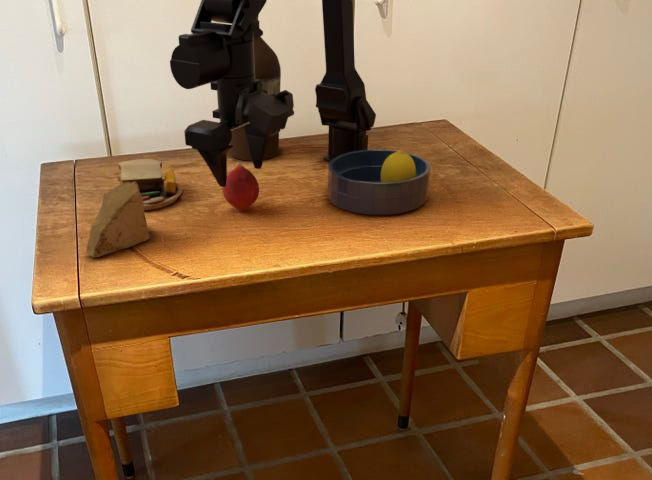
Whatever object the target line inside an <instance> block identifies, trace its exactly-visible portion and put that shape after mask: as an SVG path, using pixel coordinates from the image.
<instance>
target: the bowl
mask: <svg viewBox="0 0 652 480" xmlns="http://www.w3.org/2000/svg"><path fill="white" fill-rule="evenodd" d="M397 151H398V150H395V149H385V148H379V149H378V148H377V149H373V148H371V149H368V150H359V151H354V152H349V153H345V154H342V155H339V156H337V157H336V158H334V159H332V160H331V161H330V162H328V169H327V170H328V171H327V173H328V175H327V198H328V200H329V201H330V203H332V204H333V205H334V206H336V207H338V208H340V209H342V210H344V211H348V212H351V213H354V214H358V215H359V214H360V215H365V216H392V215H399V214H405V213H408V212H410V211H414V210H415V209H418V208H420V207H421V206H422V205H423V204H425V203H426V202H427V199H428V197H429V187H430V178H431V177H430V176H431V165H430V164H431V163H430V162H429V161H428V160H426V159H425V158H424V157H422V156H421V155H417V154H414V153H411V152H408V151H403V152H404V153H406V154H408V155H409V156H410V157H411V158H412V159H413V161H414V163H415V167H416V177H415V178H412V179H408V180H404V181H398V182H387V183H381V170H382V166H383V163H384V161H385V160H386V158H387V157H388V156H390V155H391V154H393V153H395V152H397Z"/></svg>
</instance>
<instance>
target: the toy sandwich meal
mask: <svg viewBox="0 0 652 480" xmlns="http://www.w3.org/2000/svg"><path fill="white" fill-rule="evenodd" d="M162 167H163V162H162V161H161V160H159V159H153V158H140V159H139V158H138V159H130V160H125V161H121V162H119V163H118V169H119V171H120V173H117V177H116V179H117V181H118V182H119V185H120V184H122V183H126V182H130V183H132V182H134V181H136V182H137V184H138V187H139V191H140V194H141V196H142V199H143V203H144V211H152V210H158V209H162V208H164V207H167V206H169V205H171V204H173V203H175V202H176V201H177V200H178V198H179V197H181V195H182V193H183V187H182V185H181V184H180V183H178V182H177V181H176V174H175V171H174V168H173V167H168V168H167V170H166V172H165V175H164V178H163V174H162ZM117 186H118V185H116V186H114V187H112V189H114V188H115V187H117Z"/></svg>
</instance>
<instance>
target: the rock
mask: <svg viewBox="0 0 652 480" xmlns="http://www.w3.org/2000/svg"><path fill="white" fill-rule="evenodd" d="M116 186H117V187H116ZM116 186H114V187H115V188H114V187H113V188H114V189H113V188H111V190H109V191H108V192H107V193H105V194H103V196H102V202H101V206H100V208H99V209H98V213H97V215H96V220H95V221H94V222H93V224H92V225H91V227H90V230H89V237H88V241H87V244H86V253H87V254H88V255H89V257H91V258H93V259H95V258H100V257H103V256H104V255H108V254H112V253H115V252H117V251H120V250H123V249H124V250H125V249H128V248H131V247H133V246H135V245H138V244H140V243H143V242H146V241H149V240H150V232H149V228H148V222H147V219H146V214H145V210H144V203H143V199H142V196H141V194H140V191H139V187H138V184H137V182H136V181H134V182H132V183H130V182H126V183H122V184H120V183H119V184H118V185H116Z"/></svg>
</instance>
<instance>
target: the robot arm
mask: <svg viewBox="0 0 652 480" xmlns="http://www.w3.org/2000/svg"><path fill="white" fill-rule="evenodd" d="M267 2H268V0H201V1H200V4H199V7H198V9H197V12H196V14H195V17H194V20H193V22H192V25H191V27H190V28H191V29H190V33H183V34H179V35H178V37H177V38H178V45H177V46H175V47H174V49H173V51H172V53H171V56H170V60H169V67H170V72H171V75H172V77H173V78H174V81H175V82H176V83H177V84H178V85H179V86H180V88H183V89H185V90H193V89H195V88H199V87H202V86H205V85H208V84H210V90H211V91H216V95H217V96H216V99H217V108H216V109H214V110H212V111H211V113H212V118H213V119H218V120H219V122H218V121H212V120H208V119H201V120H199V121H196V122H194V123H192V124H190V125H187V127H186V128H185V129H184V131H183V132H184V133H183V134H184V142H185V146H188V147H191V149H193V150H197V152H198V154H199V155H200V156H201V158H202V159H203V160H204V162H205V164H206V165H207V167H208V169H209V170H210V172H211V174H212V176H213V177H214V179H215V181H216V183H217V184H218V186H219V187H221V188H223V187H225V186H226V181H227V175H228V154H229V153H230V150H231V149H232V148H233V146H232V145H230V142H231V140H232V132H233V131H235V130H237V129H239V128H242V127H244V128H245V133H246V137H247V141H248V145H249V150H250V154H251V158H252V161H251V162H252V164H253V167H254V169H257V170H261V168H262V166H263V163H264V160H263V159H264V156H265V152H266V149H267V145H268V142H269V139H270V136H271V135H272V134H274V133H275V132H276V131H278V130H280V131H282V130H284V129H286V126H287V123H288V120H289V118H290V117H292V116H294V115H295V111H294V107H295V106H294V105H295V104H294V103H295V102H294V95H293V92H291V91H288V90H287V89H284V90H280V92H279V93H278V94H277V95H276V96H275V97H274V94H270V95H268V94H266V93H264V92H263V84H262V83H261V80H259V79H255V66H254V40H253V38H256V37H260V36H261V37H262V36H263V35H264V31H263V30H262V29H261V27H260V26H259V27H258V26H256V25H255V23H254V21H255V19H256V18H257V16H258V15H259V16H260V13H261V12H262V10H263V9H264V7H265V5H266V4H267ZM321 7H322V8H321V9H322V24H323V26H322V27H323V43H324V44H323V45H324V59H325V73H324V75H323V77H322V79H321V81H320V83H317V84H316V85H315V88H314V91H315V99H316V102H315V108H317V111H318V114H319V118H320V123H321V126H327V127H328V139H327V141H328V147H327V148H328V149H327V155H326V156H324V157H323V162H328V163H330V161H331V160H332V159H334V158H336V157H337V156H339V155H342V154H345V153H349V152H354V151H359V150H369V135H368V134H367V132H369V131H372V128H373V127H374V126H375V122H376V117H377V113H376V112H375V111H374V109H373V108H372V106H371V105H370V103H369V101H368V100H367V93H366V92H367V91H366V86H365V82H364V80H363V78H362V77H361V76H360V74H359V72H358V71H357V68H356V65H355V63H356V62H355V61H356V60H355V34H354V30H355V29H354V4H353V0H321Z"/></svg>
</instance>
